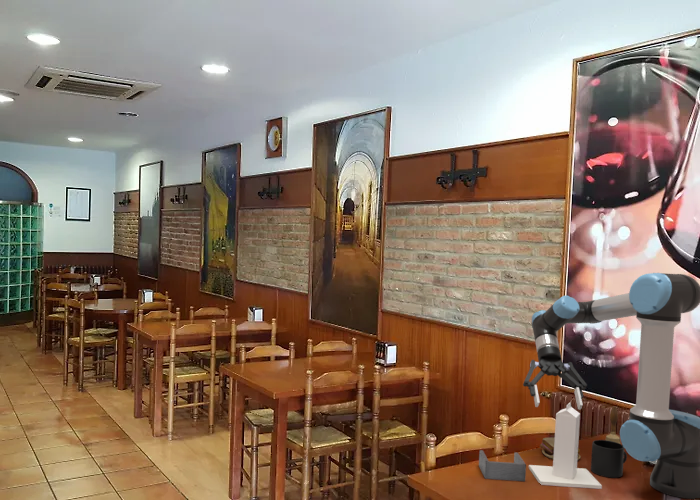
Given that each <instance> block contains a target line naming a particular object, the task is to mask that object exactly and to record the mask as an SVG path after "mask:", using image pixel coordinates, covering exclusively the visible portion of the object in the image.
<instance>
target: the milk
mask: <svg viewBox="0 0 700 500" xmlns="http://www.w3.org/2000/svg"><path fill="white" fill-rule="evenodd" d="M580 420H581V413H580V412H579V411H577V410H576V409H575V408H573V407H572V401H570V402H569V403H567V404H566V407H565V408H562V409H560V410H559V411H558V412H556V414H555V425H554V426H555V427H554V428H555V429H554V438H555V442H554V458H553V459H552V460H553V461H552V466H553V475H554V476H558V477H563V478H567V479H571V480H573V478H574V477H575V475H576V474H577V468H578V460H577V457H578V449H579V436H580V424H581V423H580Z"/></svg>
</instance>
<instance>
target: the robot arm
mask: <svg viewBox="0 0 700 500" xmlns="http://www.w3.org/2000/svg"><path fill="white" fill-rule="evenodd" d="M699 305H700V283H699V282H698V281H697V280H696V279H695V278H694V277H692V276H690V275H687V274H684V273H662V272H651V273H650V272H649V273H645V274H642V275H640V276H638V277H637V279H635V280H634V281H633V283H631V286H630V287H629V292H628V293H624V294H619V295H613V296H609V297H604V298H598V299H593V300H588V301H577V300H576V298H574V297H570V296H569V295H563V296H561V297H560V298H558V299H557V300H555V302H554V303H552V304H551V306H550V307H549V308H548V309H547V310H545V309H542V310H539V311H535V312H534V313H533V314H532V316H531V328H532V332H533V336H534V341H535V346H536V347H535V348H536V353H537V354H536V355H537V359H538V361H535V359H531V361H530V364H529V369H528V370H529V371H528V372H527V374H526V377H525V378H524V381H523V383H522V385H523V387H528V390H529V393H530V394H529V395H530V396H531V397H533V401H534V406H535V408H538V407H539V405H540V396H539V391H538V385H537V384H538V382H539V381H540V380H541V379H542V378H543V377H544V375H546V376H548V377H549V376H553V377H557V376H558V377H560V379H563V381H565V382H566V383H568V385H569V386H570V387H572V388H573V389H574V391H573V393H574V396H575V402H576V405H577V410H581V409H582V407H583V401H582V400H583V398H584V391H585V390H586V388H587V386H588V384H587V382H585V380H584V379H583V378H582V376H581V375H580V374H579V373H578V371H577V370H576V368H575V367H574V365H573V362H571V361H569V362H568V363H564V362H563V360H562V354H561V350H560V344H559V340H558V336H557V332H558V331H559V330H561V329H562V328H563V327H564V326H565V325H566V324H599V323H602V322H604V321H608V320H609V321H611V320H616V319H622V318H629V317H634V316H635V318H636V319H637V320H638V321H639V322H640V324H641V326H640V328H641V329H640V341H639V342H640V343H639V356H638V372H637V387H636V401H635V404H634V406H633V407H631V408H630V409H629V418H628V419H627V420H626V421H625V422H624V423H623V424H621V427H620V430H619V437H620V444H621V445H623V447H624V450H625V452H626V454H627V453H628V454H627V455H629V456H631V457H632V458H633V459H635V460H637V461H640V462H655V465H654V467H653V469H652V471H651V474H650V477H649V485H650V487H652V488H653V489H655V490H657V491H658V492H661V493H662V494H663V493H664V494H666V495H669V496H671V497H677V498H681V499H687V500H688V499H689V500H692V499H693V500H696V499H695V498H700V416H698V415H695V414H692V413H688V412H684V411H680V410H675V409H670V398H671V397H670V393H671V382H672V381H671V380H672V365H673V351H674V337H675V327H676V326H678V325H679V324H680V323H682V322H681V320H682V314H686V313H691V312H692V311H694V310H695V309H696V308H698V306H699ZM537 367H538V369H540V371H539V372H538V373H537V374H536V375H535V377H533V379H532V380H531V381H530V379H531V377H532V374H533V372H534V370H535V369H537Z"/></svg>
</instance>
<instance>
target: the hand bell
mask: <svg viewBox="0 0 700 500" xmlns="http://www.w3.org/2000/svg"><path fill="white" fill-rule="evenodd" d="M609 419H610V423H611V424H610V433H609V434H607V435H606V436H605V440H608V441H613V442H616V443H619V444H621V439H620V435H617V422H618V419H619V413H618V409H617V406H614V405H613V406H612V407H611V410H610V413H609Z"/></svg>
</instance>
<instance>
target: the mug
mask: <svg viewBox="0 0 700 500" xmlns="http://www.w3.org/2000/svg"><path fill="white" fill-rule="evenodd" d="M590 458H591V459H590V460H591V461H590V470H591V472H592V473H594V474H596V475H599V476H600V477H605V478H612V479H616V478H621V477H623V475H624V474H623V473H624V464H625V463H626V462H627V459H628V454H627V451H626V450H625V448H624V447H623V445H622V443H620V444H619V443H616V442H613V441H608V440H606V439H596V440H593V441H592V443H591V457H590Z"/></svg>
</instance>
